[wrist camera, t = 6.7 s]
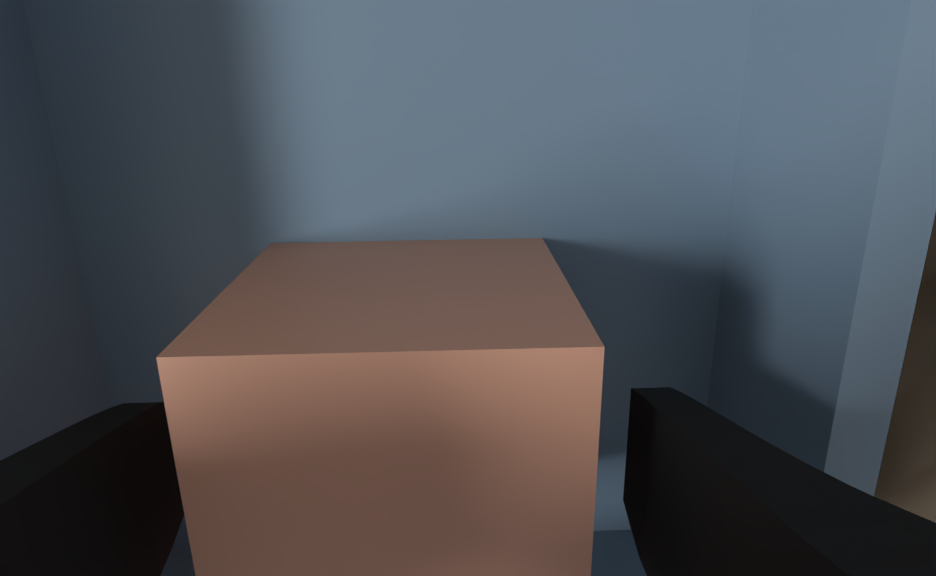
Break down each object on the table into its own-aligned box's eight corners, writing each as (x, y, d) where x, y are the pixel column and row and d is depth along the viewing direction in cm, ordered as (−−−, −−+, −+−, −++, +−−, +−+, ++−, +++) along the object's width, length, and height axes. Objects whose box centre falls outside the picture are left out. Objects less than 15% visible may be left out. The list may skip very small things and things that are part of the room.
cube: (536, 469, 14) (584, 681, 9) (296, 476, 14) (216, 695, 9) (542, 237, 12) (604, 347, 7) (271, 242, 12) (155, 357, 7)
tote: (708, 526, 16) (823, 727, 11) (131, 546, 15) (-12, 763, 10) (826, -435, 10) (1177, -899, 5) (-88, -439, 10) (-614, -942, 5)
